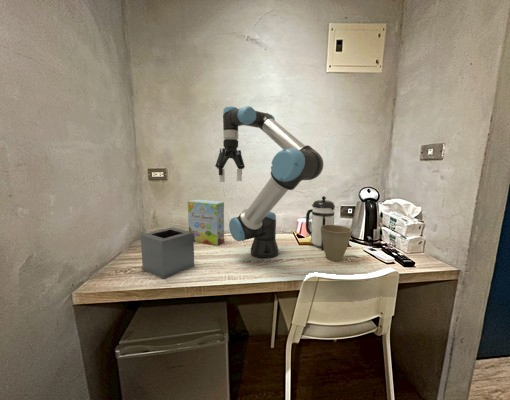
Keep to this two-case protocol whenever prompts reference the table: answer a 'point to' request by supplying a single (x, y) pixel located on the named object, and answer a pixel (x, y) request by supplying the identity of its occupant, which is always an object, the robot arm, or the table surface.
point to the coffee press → (320, 219)
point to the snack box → (206, 221)
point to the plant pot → (335, 241)
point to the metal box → (167, 251)
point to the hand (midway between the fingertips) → (231, 181)
